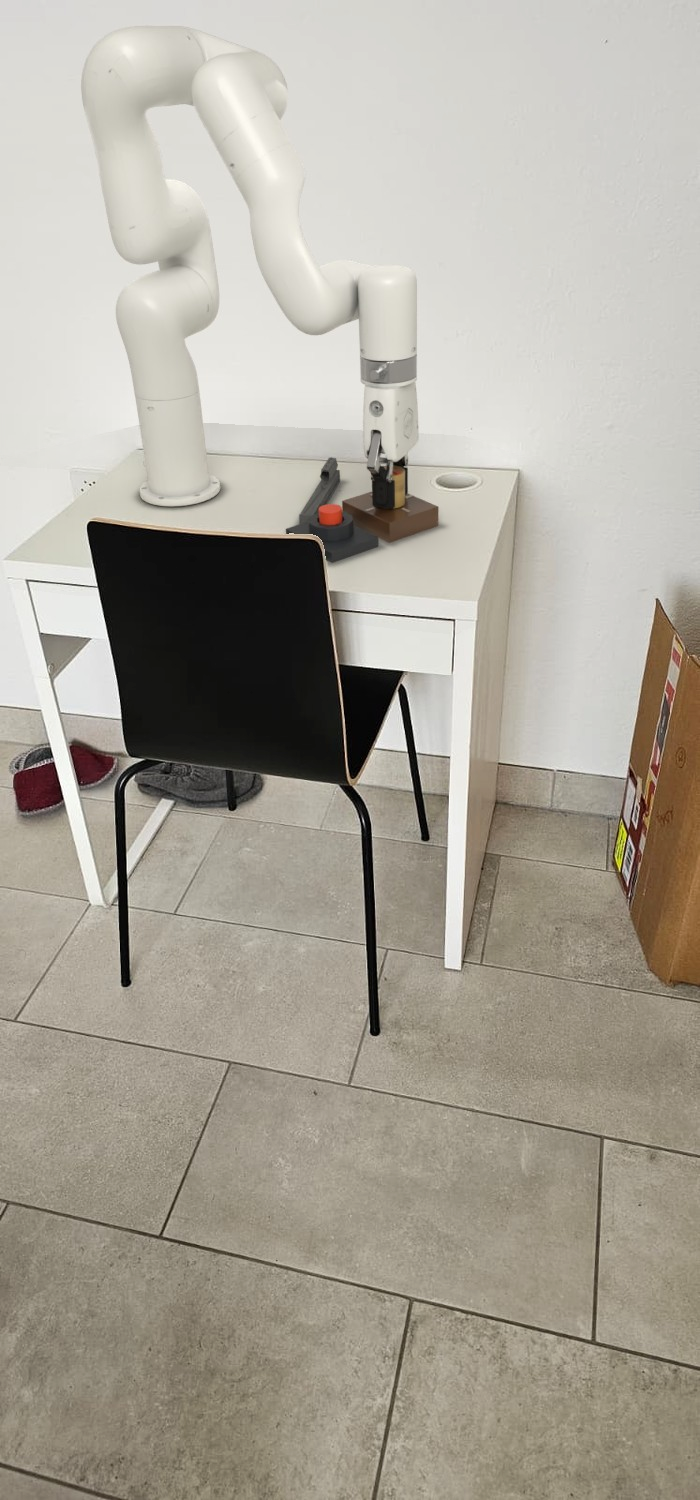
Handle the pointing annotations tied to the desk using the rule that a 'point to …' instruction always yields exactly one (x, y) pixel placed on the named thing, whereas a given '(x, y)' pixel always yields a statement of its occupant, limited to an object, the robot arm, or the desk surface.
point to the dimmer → (391, 517)
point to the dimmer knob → (398, 485)
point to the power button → (330, 514)
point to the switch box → (338, 537)
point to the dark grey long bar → (322, 490)
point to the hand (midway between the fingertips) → (390, 499)
